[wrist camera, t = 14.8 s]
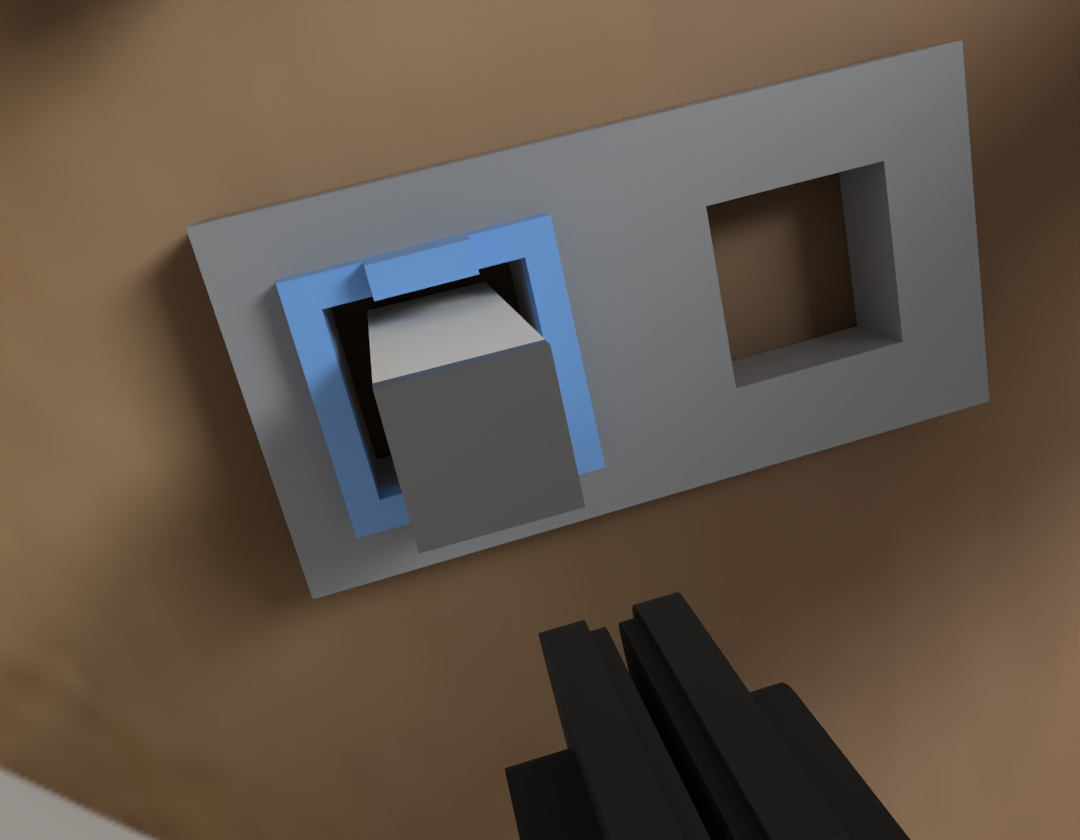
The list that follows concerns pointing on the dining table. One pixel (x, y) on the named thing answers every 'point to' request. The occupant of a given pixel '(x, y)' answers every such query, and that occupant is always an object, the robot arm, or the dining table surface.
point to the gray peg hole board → (619, 297)
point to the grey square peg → (471, 415)
